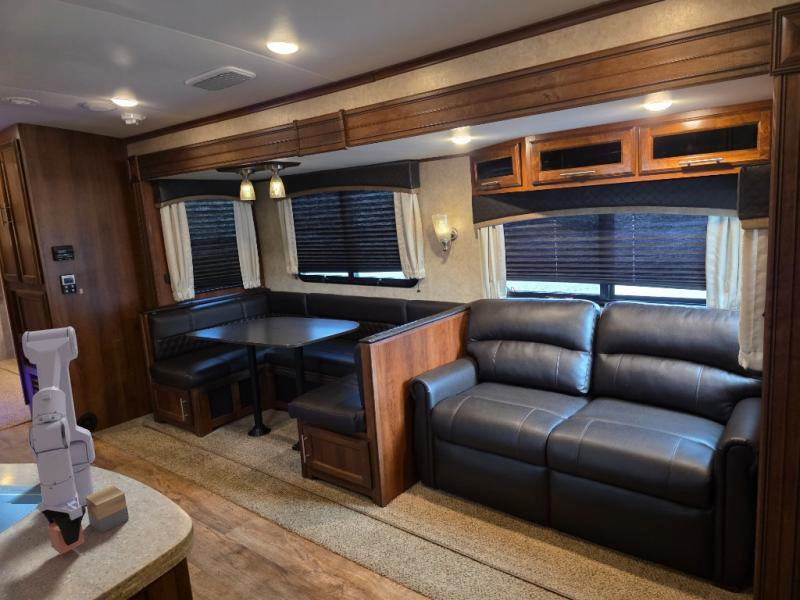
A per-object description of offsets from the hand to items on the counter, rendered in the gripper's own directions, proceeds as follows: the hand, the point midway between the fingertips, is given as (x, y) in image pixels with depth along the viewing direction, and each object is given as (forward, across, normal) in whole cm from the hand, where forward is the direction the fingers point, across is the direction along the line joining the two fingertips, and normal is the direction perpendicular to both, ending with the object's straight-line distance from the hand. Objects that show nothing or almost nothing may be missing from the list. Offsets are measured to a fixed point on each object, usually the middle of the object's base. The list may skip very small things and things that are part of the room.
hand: (67, 538), depth 108 cm
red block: (+1, 0, 0) cm, 1 cm away
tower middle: (0, -4, +10) cm, 11 cm away
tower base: (+3, -4, +10) cm, 11 cm away
